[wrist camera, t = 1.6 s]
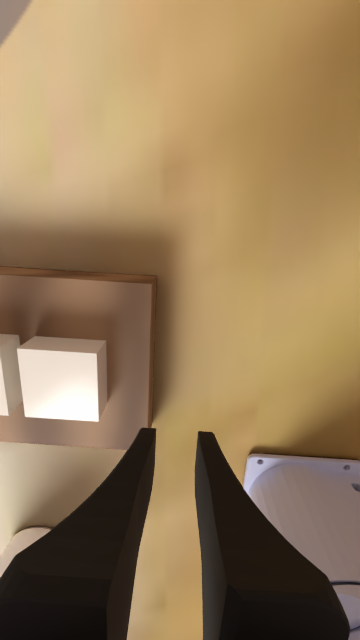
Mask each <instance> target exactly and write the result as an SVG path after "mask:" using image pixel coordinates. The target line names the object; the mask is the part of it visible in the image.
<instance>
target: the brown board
mask: <svg viewBox="0 0 360 640" xmlns="http://www.w3.org/2000/svg"><path fill="white" fill-rule="evenodd" d="M156 287H157V276H146V275H130V274H113V273H97V272H81V271H65V270H49V269H33V268H17V267H0V334H10V335H19V340H20V346H21V345H23V344H24V343H26V342H27V341H28V340H30V339H31V338H33V337H34V336H42V337H57V338H73V339H89V340H105V341H106V357H107V405H106V407H105V409H104V411H103V413H102V416H101V418H100V420H99V422H96V421H81V420H65V419H50V418H35V417H25V413H24V404H23V401H22V402H21V403H20V404H19V406H18V407H17V408H16V409H15V410H14V411H13V412H12V413H11V414H10V415H9V416H4V415H0V441H1V442H16V443H31V444H46V445H61V446H76V447H92V448H107V449H122V450H128V449H129V447H130V446H131V444H132V443H133V441H134V439H135V438H136V436H137V434H138V432H139V430H140V429H141V428H151V426H152V404H153V375H154V346H155V316H156Z"/></svg>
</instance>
